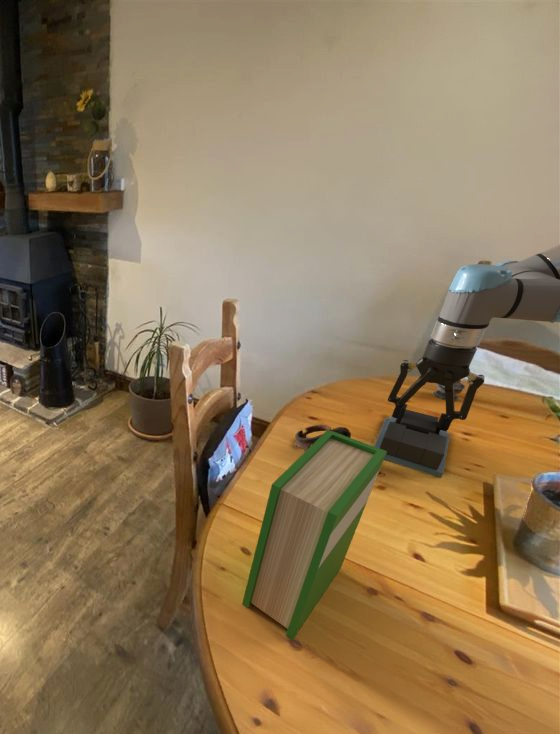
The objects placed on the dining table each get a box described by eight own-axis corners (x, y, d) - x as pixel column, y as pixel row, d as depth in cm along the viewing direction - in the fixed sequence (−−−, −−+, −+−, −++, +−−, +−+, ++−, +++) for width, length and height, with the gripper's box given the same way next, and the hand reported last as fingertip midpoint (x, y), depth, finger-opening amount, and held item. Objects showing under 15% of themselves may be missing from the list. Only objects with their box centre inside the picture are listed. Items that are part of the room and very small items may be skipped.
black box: (431, 433, 97) (438, 417, 94) (427, 449, 92) (435, 433, 90) (399, 424, 100) (405, 409, 98) (393, 440, 95) (400, 423, 93)
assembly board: (448, 438, 97) (456, 419, 94) (441, 478, 85) (450, 457, 83) (384, 421, 104) (391, 403, 102) (370, 455, 93) (377, 436, 90)
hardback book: (292, 640, 59) (337, 515, 48) (242, 604, 64) (271, 484, 53) (340, 568, 68) (387, 451, 57) (293, 542, 73) (327, 429, 62)
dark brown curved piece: (330, 477, 88) (315, 443, 87) (294, 469, 97) (281, 438, 96) (370, 450, 90) (356, 417, 90) (332, 444, 100) (319, 414, 99)
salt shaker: (426, 393, 115) (442, 353, 109) (441, 389, 116) (458, 349, 110) (449, 403, 110) (468, 361, 104) (465, 398, 111) (484, 357, 105)
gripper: (392, 338, 89) (360, 427, 100) (520, 360, 77) (468, 459, 88) (398, 328, 94) (367, 414, 104) (519, 347, 82) (470, 442, 93)
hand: (413, 434), depth 96 cm, fingers closed on black box, 6 cm apart
